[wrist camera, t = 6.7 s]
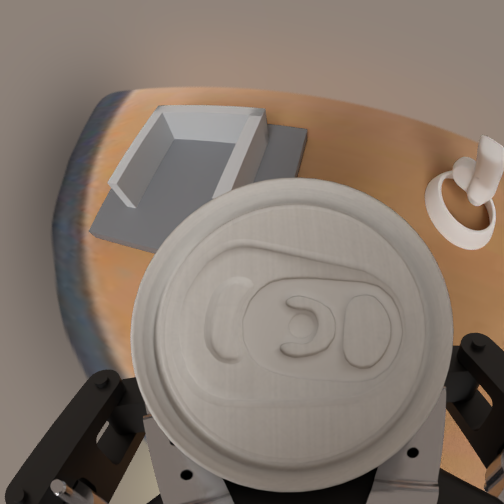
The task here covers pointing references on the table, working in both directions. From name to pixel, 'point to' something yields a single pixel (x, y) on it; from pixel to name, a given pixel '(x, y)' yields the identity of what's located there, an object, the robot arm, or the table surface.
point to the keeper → (191, 168)
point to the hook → (468, 194)
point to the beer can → (291, 334)
